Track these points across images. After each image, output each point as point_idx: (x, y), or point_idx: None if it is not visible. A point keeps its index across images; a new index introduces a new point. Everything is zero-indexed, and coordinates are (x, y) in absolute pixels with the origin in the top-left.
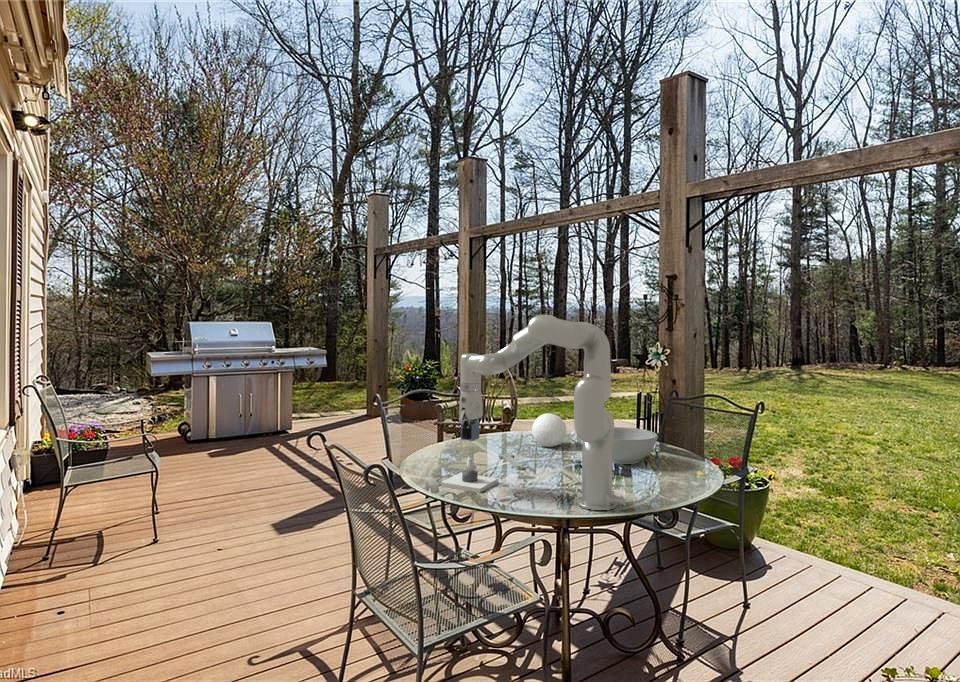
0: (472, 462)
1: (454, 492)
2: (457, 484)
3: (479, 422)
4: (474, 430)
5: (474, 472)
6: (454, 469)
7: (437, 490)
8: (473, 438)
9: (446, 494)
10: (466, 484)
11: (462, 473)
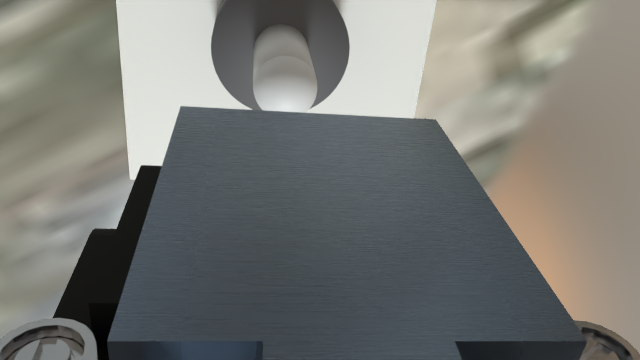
0: (289, 52)
1: (493, 38)
2: (416, 67)
3: (116, 329)
4: (422, 212)
5: (272, 8)
6: (11, 273)
7: (483, 152)
8: (420, 133)
9: (547, 66)
10: (394, 5)
11: (322, 97)
